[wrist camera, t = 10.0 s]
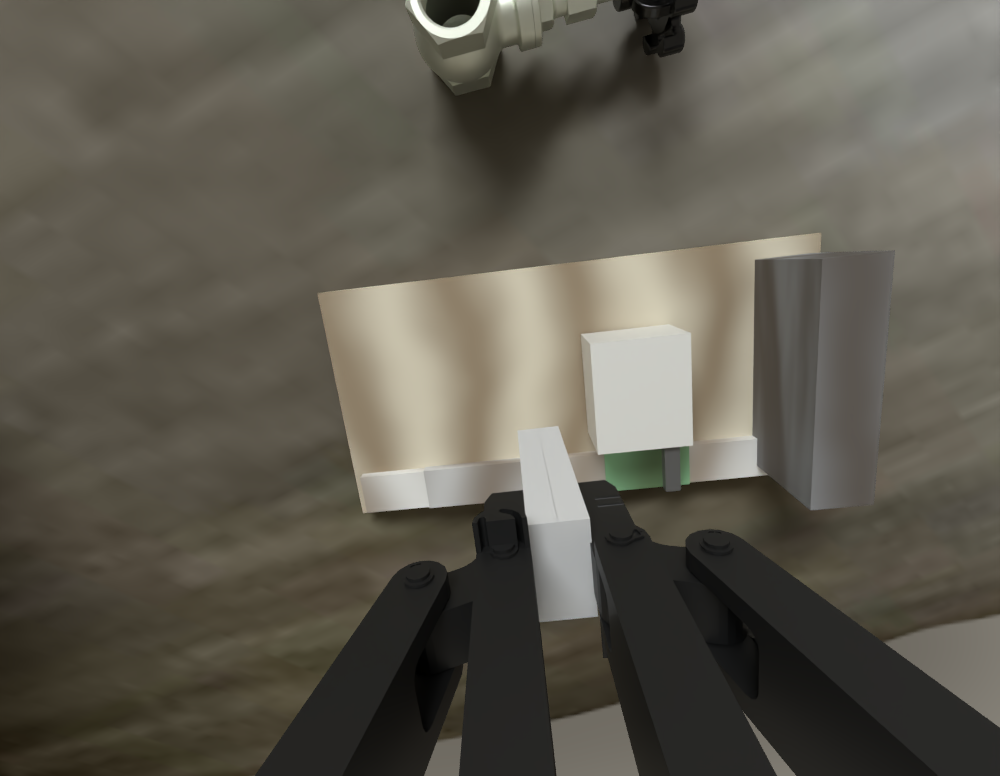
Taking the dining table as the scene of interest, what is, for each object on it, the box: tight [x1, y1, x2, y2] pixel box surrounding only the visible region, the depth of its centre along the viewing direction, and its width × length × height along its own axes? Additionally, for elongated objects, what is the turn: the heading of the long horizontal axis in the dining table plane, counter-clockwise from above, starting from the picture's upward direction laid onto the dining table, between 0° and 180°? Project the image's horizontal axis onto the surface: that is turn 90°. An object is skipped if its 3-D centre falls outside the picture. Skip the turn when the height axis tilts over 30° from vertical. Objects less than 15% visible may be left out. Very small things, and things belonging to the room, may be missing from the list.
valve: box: [405, 0, 698, 96], centre depth 22 cm, size 7×7×12 cm
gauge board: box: [317, 233, 895, 513], centre depth 26 cm, size 28×14×7 cm, turn 97°
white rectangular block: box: [581, 324, 693, 492], centre depth 27 cm, size 5×9×4 cm, turn 7°
